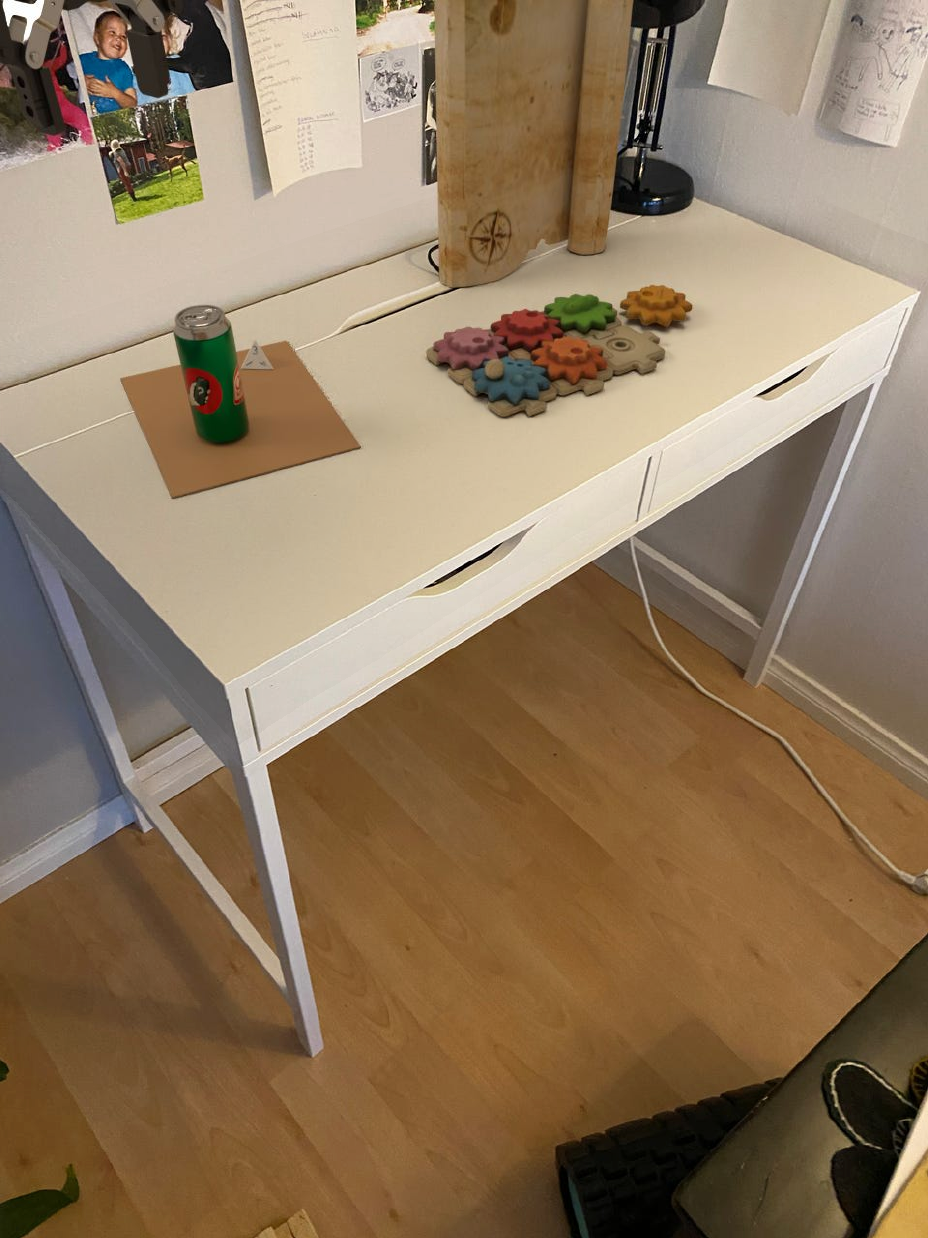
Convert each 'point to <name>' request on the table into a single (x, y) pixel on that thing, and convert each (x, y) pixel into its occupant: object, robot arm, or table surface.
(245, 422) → the soda can
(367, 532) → the table surface
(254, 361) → the tetrahedral die
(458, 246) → the parchment
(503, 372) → the gear puzzle
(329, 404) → the kraft paper
